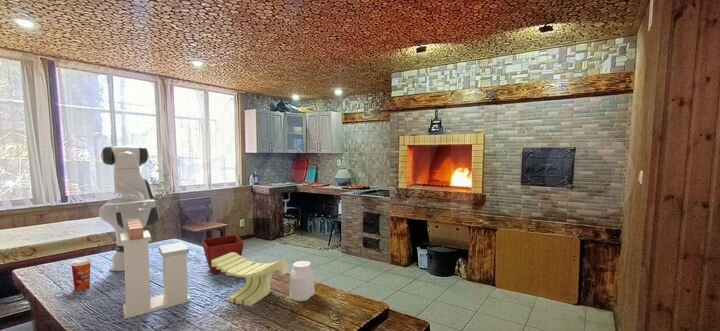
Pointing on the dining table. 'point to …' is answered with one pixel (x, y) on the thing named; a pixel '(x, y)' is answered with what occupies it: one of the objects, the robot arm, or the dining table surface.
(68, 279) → the dining table surface
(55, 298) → the dining table surface
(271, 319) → the dining table surface
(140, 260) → the stand
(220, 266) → the slatted curved stool
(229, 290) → the dining table surface
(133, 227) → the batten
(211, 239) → the plant pot
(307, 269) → the jar
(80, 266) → the paper cup
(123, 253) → the robot arm
